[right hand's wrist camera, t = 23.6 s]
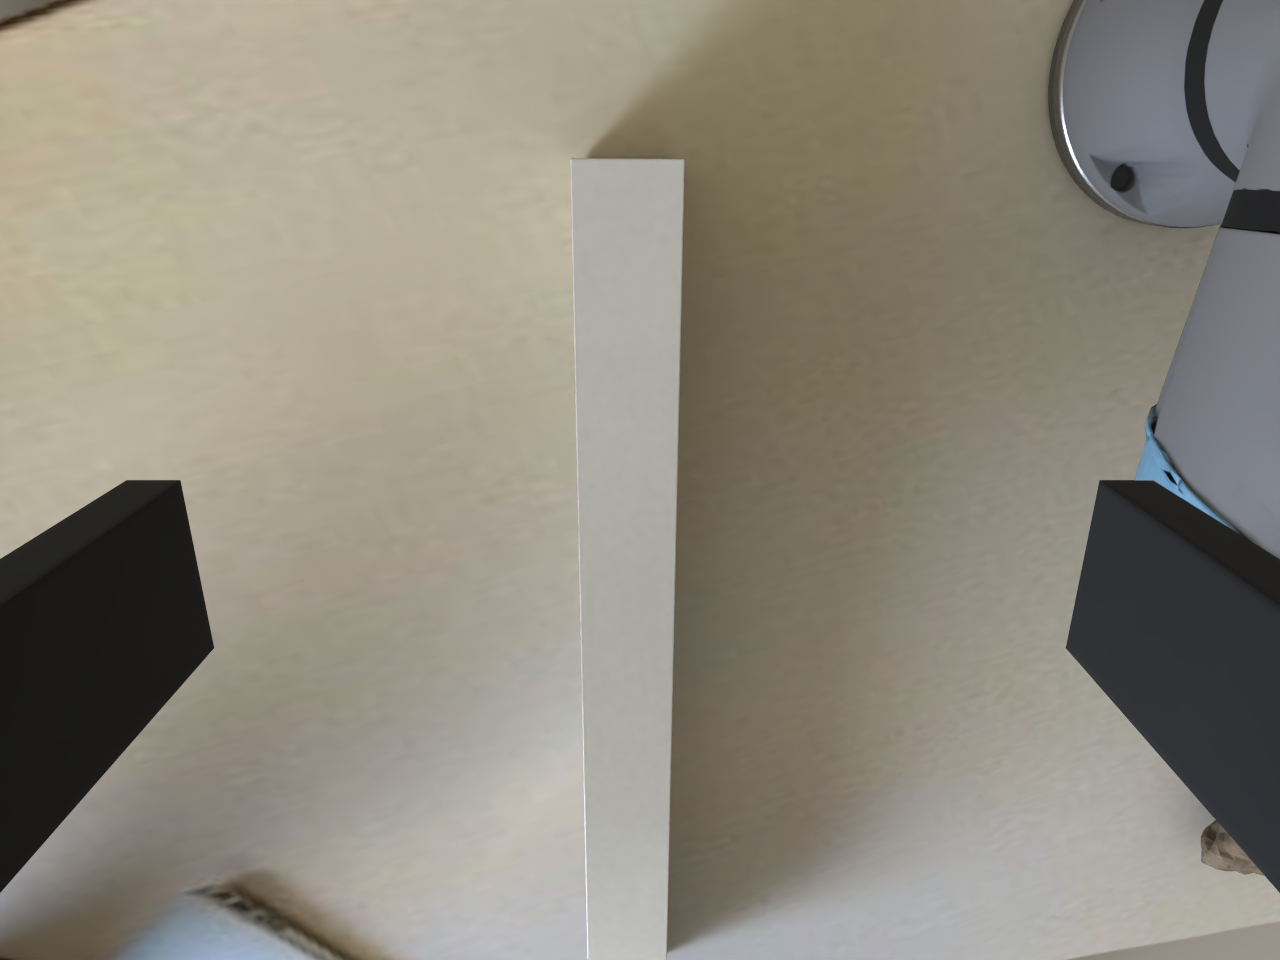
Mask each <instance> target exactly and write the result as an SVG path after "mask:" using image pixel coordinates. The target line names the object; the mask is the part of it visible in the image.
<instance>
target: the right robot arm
mask: <svg viewBox="0 0 1280 960" xmlns="http://www.w3.org/2000/svg"><path fill="white" fill-rule="evenodd" d="M1049 114H1050V122H1051V127H1052V133H1053V136H1054V140H1055V143H1056V147H1057V149H1058V152H1059V154H1060V156H1061V159H1062V161H1063V163H1064V165H1065V167H1066V168H1067V170H1068V172H1069V173H1070V175H1071V176H1072V178H1073V179H1074V181H1075V182H1076V183H1077V185H1078V186H1079V187H1080V188H1081V189H1082V190H1083V191H1084V192H1085V193H1086V194H1087V195H1088V196H1089V197H1090V198H1091V199H1092V200H1093V201H1095V202H1096V203H1097V204H1099V205H1100V206H1102V207H1103V208H1105V209H1106V210H1108V211H1110V212H1112V213H1114V214H1115V215H1117V216H1120V217H1123V218H1125V219H1128V220H1131V221H1134V222H1138V223H1142V224H1148V225H1155V226H1162V227H1170V228H1196V227H1204V226H1211V225H1216V224H1222V225H1221V226H1220V227H1222V228H1219V230H1218V233H1217V236H1216V239H1215V242H1214V244H1213V247H1212V250H1211V253H1210V256H1209V258H1208V261H1207V264H1206V267H1205V270H1204V273H1203V275H1202V278H1201V281H1200V284H1199V287H1198V290H1197V292H1196V295H1195V298H1194V301H1193V304H1192V307H1191V309H1190V312H1189V315H1188V318H1187V321H1186V324H1185V326H1184V329H1183V332H1182V335H1181V338H1180V341H1179V343H1178V346H1177V349H1176V352H1175V355H1174V357H1173V360H1172V363H1171V366H1170V369H1169V372H1168V374H1167V377H1166V380H1165V383H1164V386H1163V389H1162V391H1161V394H1160V397H1159V400H1158V403H1157V404H1156V405H1155V406H1153V407H1152V408H1151V409H1150V412H1149V414H1148V417H1147V419H1146V426H1145V430H1146V438H1147V439H1146V443H1145V446H1144V449H1143V453H1142V456H1141V459H1140V463H1139V466H1138V469H1137V473H1136V476H1135V479H1134V480H1100V481H1099V486H1098V491H1097V496H1096V501H1095V506H1094V511H1093V516H1092V521H1091V526H1090V531H1089V536H1088V541H1087V546H1086V551H1085V556H1084V561H1083V566H1082V571H1081V576H1080V581H1079V586H1078V591H1077V596H1076V601H1075V606H1074V611H1073V615H1072V620H1071V625H1070V630H1069V635H1068V640H1067V645H1066V649H1067V650H1068V651H1069V652H1070V653H1071V654H1072V655H1073V657H1074V658H1075V659H1076V660H1077V661H1078V662H1079V663H1080V665H1081V666H1082V667H1083V668H1084V669H1085V670H1086V671H1087V673H1088V674H1089V675H1090V676H1091V677H1092V678H1093V679H1094V681H1095V682H1096V683H1097V684H1098V685H1099V686H1100V687H1101V689H1102V690H1103V691H1104V692H1105V693H1106V694H1107V695H1108V697H1109V698H1110V699H1111V700H1112V701H1113V702H1114V704H1115V705H1116V706H1117V707H1118V708H1119V709H1120V710H1121V712H1122V713H1123V714H1124V715H1125V716H1126V717H1127V718H1128V720H1129V721H1130V722H1131V723H1132V724H1133V725H1134V726H1135V728H1136V729H1137V730H1138V731H1139V732H1140V733H1141V734H1142V736H1143V737H1144V738H1145V739H1146V740H1147V741H1148V742H1149V744H1150V745H1151V746H1152V747H1153V748H1154V749H1155V750H1156V752H1157V753H1158V754H1159V755H1160V756H1161V757H1162V758H1163V760H1164V761H1165V762H1166V763H1167V764H1168V765H1169V766H1170V768H1171V769H1172V770H1173V771H1174V772H1175V773H1176V774H1177V776H1178V777H1179V778H1180V779H1181V780H1182V781H1183V782H1184V784H1185V785H1186V786H1187V787H1188V788H1189V789H1190V791H1191V792H1192V793H1193V794H1194V795H1195V796H1196V797H1197V799H1198V800H1199V801H1200V802H1201V803H1202V804H1203V805H1204V807H1205V808H1206V809H1207V810H1208V811H1209V812H1210V813H1211V815H1212V816H1213V817H1214V818H1215V819H1216V820H1217V821H1218V823H1219V824H1220V825H1221V826H1222V827H1223V828H1224V829H1225V831H1226V832H1227V833H1228V834H1229V835H1230V836H1231V837H1232V839H1233V840H1234V841H1235V842H1236V843H1237V844H1238V845H1239V847H1240V848H1241V849H1242V850H1243V851H1244V852H1245V853H1246V855H1247V856H1248V857H1249V858H1250V859H1251V860H1252V861H1253V863H1254V864H1255V865H1256V866H1257V867H1258V868H1259V869H1260V871H1261V872H1262V873H1263V874H1264V875H1265V876H1266V877H1267V879H1268V880H1269V881H1270V882H1271V883H1272V884H1273V886H1274V887H1275V888H1276V889H1277V890H1278V891H1279V892H1280V0H1074V2H1073V4H1072V6H1071V8H1070V10H1069V12H1068V14H1067V16H1066V18H1065V21H1064V23H1063V26H1062V28H1061V31H1060V34H1059V37H1058V40H1057V43H1056V47H1055V51H1054V54H1053V59H1052V65H1051V70H1050V79H1049ZM213 649H214V645H213V640H212V635H211V630H210V625H209V620H208V615H207V611H206V606H205V601H204V596H203V591H202V586H201V581H200V576H199V571H198V566H197V561H196V556H195V551H194V546H193V541H192V536H191V531H190V526H189V521H188V516H187V511H186V506H185V501H184V496H183V491H182V486H181V481H180V480H126V481H125V482H123V483H122V484H120V485H118V486H117V487H115V488H114V489H112V490H110V491H109V492H107V493H106V494H104V495H102V496H101V497H99V498H98V499H96V500H94V501H93V502H91V503H90V504H88V505H86V506H85V507H83V508H82V509H80V510H78V511H77V512H75V513H74V514H72V515H70V516H69V517H67V518H65V519H64V520H62V521H61V522H59V523H57V524H56V525H54V526H53V527H51V528H49V529H48V530H46V531H45V532H43V533H41V534H40V535H38V536H37V537H35V538H33V539H32V540H30V541H29V542H27V543H25V544H24V545H22V546H21V547H19V548H17V549H16V550H14V551H13V552H11V553H9V554H8V555H6V556H5V557H3V558H1V559H0V892H1V891H2V890H3V889H4V888H5V887H6V886H7V884H8V883H9V882H10V881H11V880H12V879H13V877H14V876H15V875H16V874H17V873H18V872H19V871H20V869H21V868H22V867H23V866H24V865H25V864H26V863H27V861H28V860H29V859H30V858H31V857H32V856H33V855H34V853H35V852H36V851H37V850H38V849H39V848H40V847H41V845H42V844H43V843H44V842H45V841H46V840H47V839H48V837H49V836H50V835H51V834H52V833H53V832H54V831H55V829H56V828H57V827H58V826H59V825H60V824H61V823H62V821H63V820H64V819H65V818H66V817H67V816H68V815H69V813H70V812H71V811H72V810H73V809H74V808H75V807H76V805H77V804H78V803H79V802H80V801H81V800H82V799H83V797H84V796H85V795H86V794H87V793H88V792H89V791H90V789H91V788H92V787H93V786H94V785H95V784H96V782H97V781H98V780H99V779H100V778H101V777H102V776H103V774H104V773H105V772H106V771H107V770H108V769H109V768H110V766H111V765H112V764H113V763H114V762H115V761H116V760H117V758H118V757H119V756H120V755H121V754H122V753H123V752H124V750H125V749H126V748H127V747H128V746H129V745H130V744H131V742H132V741H133V740H134V739H135V738H136V737H137V736H138V734H139V733H140V732H141V731H142V730H143V729H144V728H145V726H146V725H147V724H148V723H149V722H150V721H151V720H152V718H153V717H154V716H155V715H156V714H157V713H158V712H159V710H160V709H161V708H162V707H163V706H164V705H165V704H166V702H167V701H168V700H169V699H170V698H171V697H172V695H173V694H174V693H175V692H176V691H177V690H178V689H179V687H180V686H181V685H182V684H183V683H184V682H185V681H186V679H187V678H188V677H189V676H190V675H191V674H192V673H193V671H194V670H195V669H196V668H197V667H198V666H199V665H200V663H201V662H202V661H203V660H204V659H205V658H206V657H207V655H208V654H209V653H210V652H211V651H212V650H213Z"/></svg>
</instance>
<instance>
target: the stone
mask: <svg viewBox="0 0 1280 960" xmlns="http://www.w3.org/2000/svg"><path fill="white" fill-rule="evenodd" d="M1201 847H1202V852H1201V861H1202V862H1203V863H1204V864H1207V865H1210V866H1212V867H1214V868H1216V869H1218V870H1224V871H1237V872H1239V873H1242V874H1250V873H1256V874H1260V875H1264V874H1263V873H1262V872H1261V871H1260V869H1259V868H1258V867H1257V866H1256V865H1255V864H1254V863H1253V861H1252V860H1251V859H1250V858H1249V857H1248V856H1247V855H1246V853H1245V852H1244V851H1243V850H1242V849H1241V848H1240V847H1239V845H1238V844H1237V843H1236V842H1235V841H1234V840H1233V839H1232V837H1231V836H1230V835H1229V834H1228V833H1227V832H1226V831H1225V829H1224V828H1223V827H1222V826H1221V825H1220V824H1219V823H1218V821H1217V820H1216V821H1214V822H1213V823H1212V824H1211V825H1209V826H1208V827H1206V828H1205V830H1204V831H1203V833H1202V836H1201Z"/></svg>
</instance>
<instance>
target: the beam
mask: <svg viewBox="0 0 1280 960" xmlns="http://www.w3.org/2000/svg"><path fill="white" fill-rule="evenodd" d="M570 162H571V208H572V254H573V301H574V347H575V393H576V440H577V486H578V532H579V579H580V625H581V672H582V718H583V764H584V811H585V857H586V903H587V950H588V960H667V928H668V884H669V839H670V795H671V751H672V707H673V662H674V618H675V574H676V529H677V485H678V441H679V397H680V352H681V308H682V264H683V219H684V175H685V160H684V159H616V158H571V160H570Z"/></svg>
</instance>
